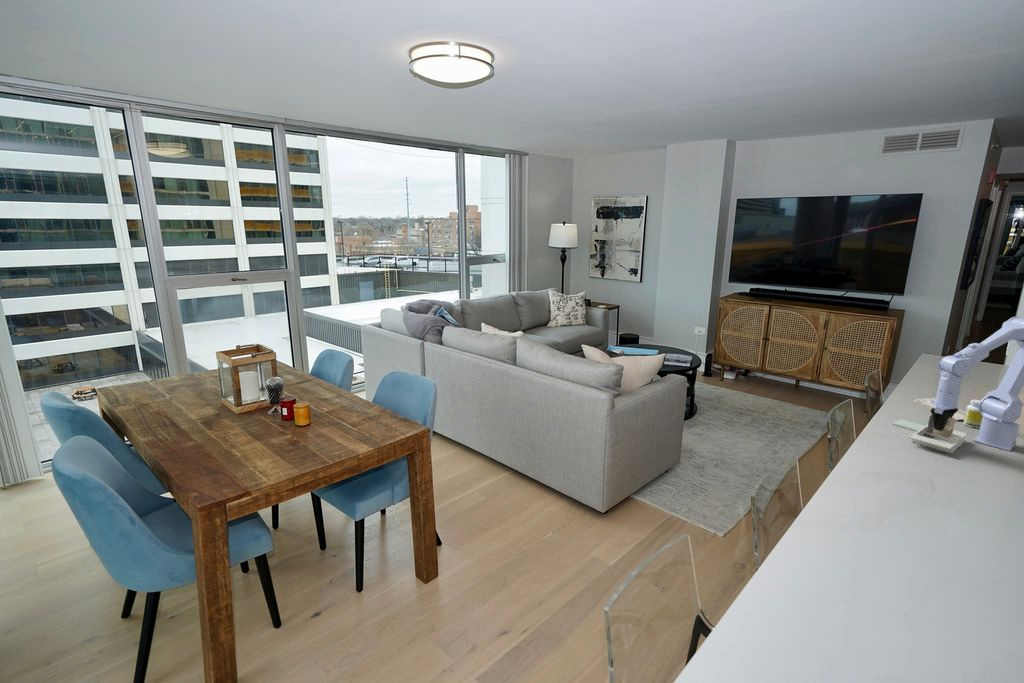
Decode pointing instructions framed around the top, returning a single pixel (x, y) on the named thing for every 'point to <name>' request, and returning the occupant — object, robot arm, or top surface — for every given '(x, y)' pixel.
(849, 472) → the top surface
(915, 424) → the tile
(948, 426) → the block
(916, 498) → the top surface
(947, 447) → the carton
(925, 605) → the top surface
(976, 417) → the supplement bottle
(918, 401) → the newspaper
